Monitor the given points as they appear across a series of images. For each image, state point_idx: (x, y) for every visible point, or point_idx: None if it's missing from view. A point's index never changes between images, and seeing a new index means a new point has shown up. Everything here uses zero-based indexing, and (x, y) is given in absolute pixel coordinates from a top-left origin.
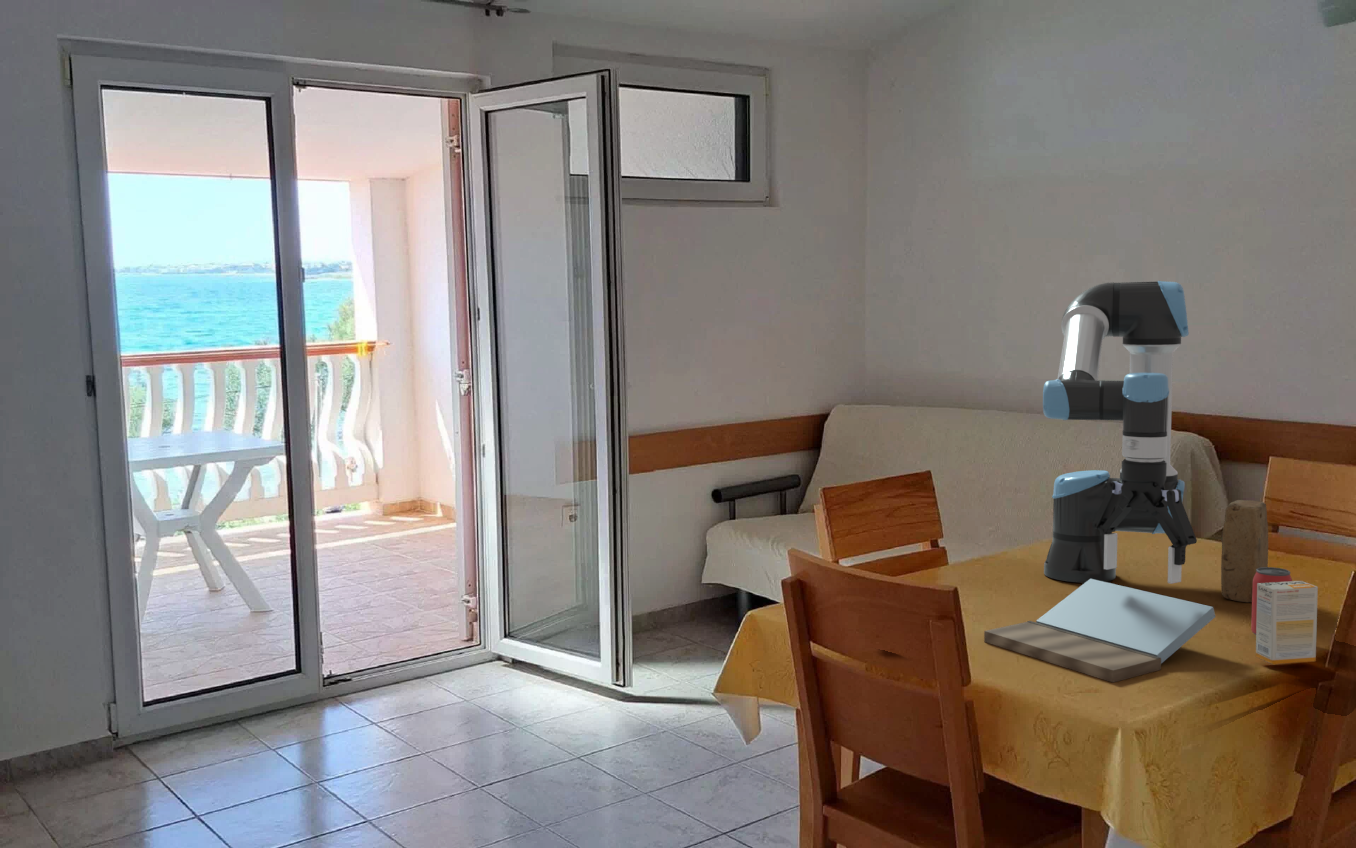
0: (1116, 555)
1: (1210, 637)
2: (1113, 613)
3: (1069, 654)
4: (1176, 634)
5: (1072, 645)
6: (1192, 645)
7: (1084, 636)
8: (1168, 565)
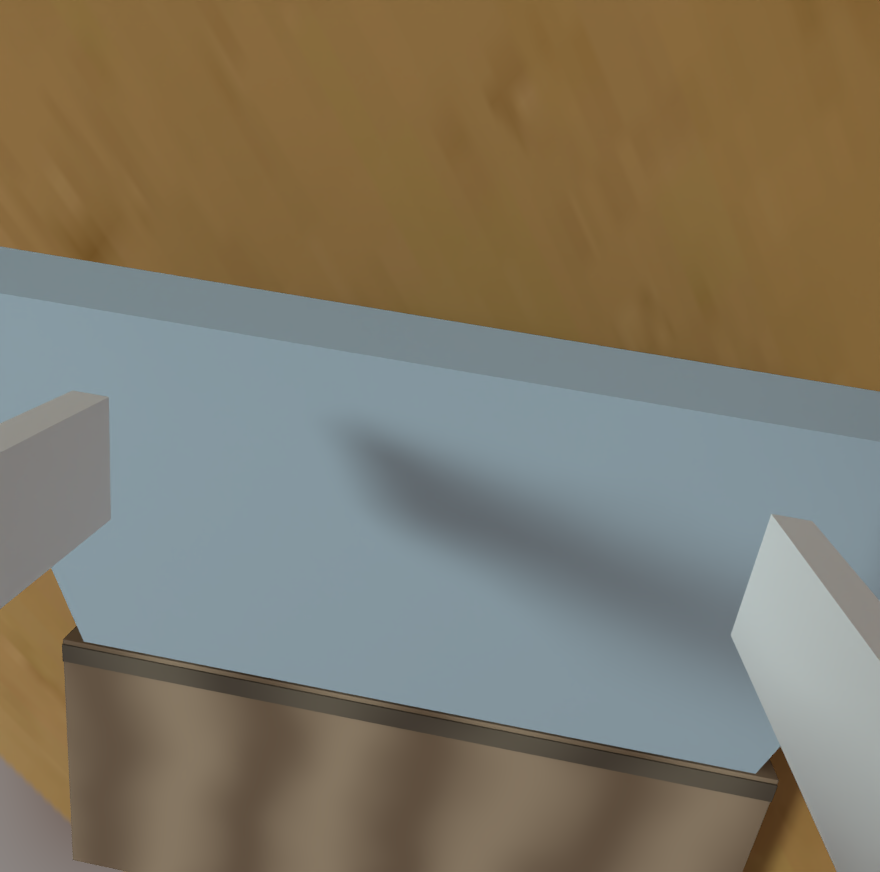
0: (31, 445)
1: (753, 56)
2: (381, 578)
3: None
4: None
5: (414, 833)
6: (731, 303)
7: (373, 708)
8: (788, 752)
